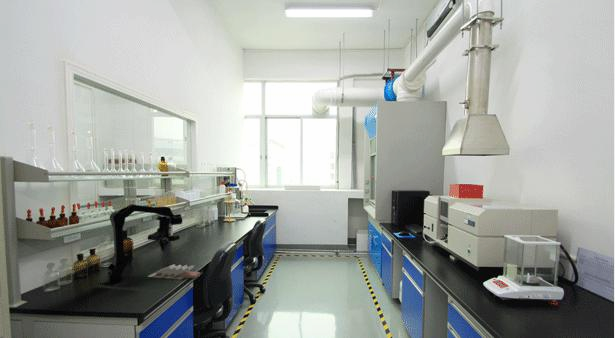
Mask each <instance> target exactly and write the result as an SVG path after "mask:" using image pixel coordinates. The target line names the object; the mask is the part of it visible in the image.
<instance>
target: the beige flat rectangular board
mask: <svg viewBox="0 0 615 338" xmlns="http://www.w3.org/2000/svg"><path fill="white" fill-rule="evenodd" d="M147 277H148V278H149V277H150V278H158V279H159V278H161V279H170V280H171V279H173V280H182V279H184V278H185V277H180V274H179V275H177V276H174V274H172V275H169V276H168V274H164V275H162V274H161V273H159V274H157V275H156V274H155V272H153V273H151V274H149V275H147Z"/></svg>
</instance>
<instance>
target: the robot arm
mask: <svg viewBox="0 0 615 338" xmlns="http://www.w3.org/2000/svg"><path fill="white" fill-rule="evenodd" d="M134 212H137V213H138V212H139V213H150V214H155V215H158V216H157V217H156V218H155V220H156V221H159V223H158V226H159V227H158V228H157V229H156V231H155V232H154V233H150V234H149V235H148V236H147V240H150V241H151V240H152V241H155V242H158V244H159V245H160V246H159V247H160V250H161V251H163V252H165V250H166V248H167V246H168V245H169V243H170V242H175V241H178V240H180V239H181V238H180V234H172V235H171V233H170V230H171V228H172V227H171V226H177V225H182V224H183V217H182V214H180V213H177V214H174V213H173V211H172V209H171V207H169V206H165V205H164V206H162V205H161V206H148V205H137V204H133V203H131V204H128V205H127V206H125V207H123V208H121V209H119V210H118V211H113V212H112V213H110V215H109V221H110V224H111V226H112V230H113V248H114V253H113V256H112V260H111V263H110V264H109V265H108V266H107V267H106V270H107V278H106V281H107V283H108V284H109V286H113V285H111V284H118V283H121V282H123V277H124V275H123V274H124V271H125V269H126V267H128V265H129V264H128V263H130V261H129V254H127V253H126V252H125V250H124V249H125V248H124V247H125V244H124V226H125V223H126V218H128V217H129V216H130V215H132V214H133V213H134Z"/></svg>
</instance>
